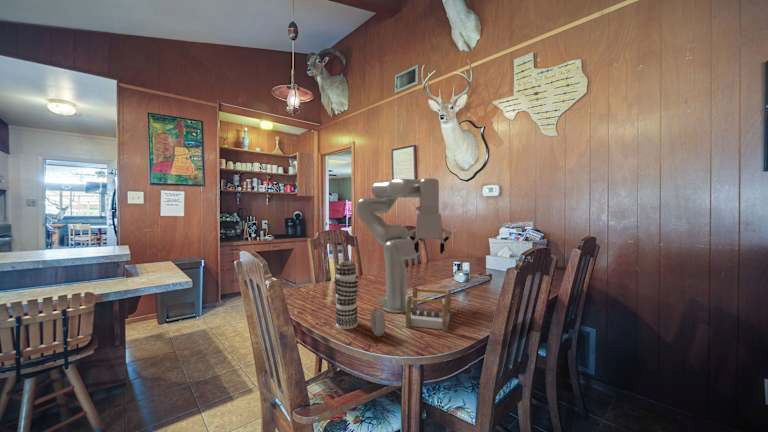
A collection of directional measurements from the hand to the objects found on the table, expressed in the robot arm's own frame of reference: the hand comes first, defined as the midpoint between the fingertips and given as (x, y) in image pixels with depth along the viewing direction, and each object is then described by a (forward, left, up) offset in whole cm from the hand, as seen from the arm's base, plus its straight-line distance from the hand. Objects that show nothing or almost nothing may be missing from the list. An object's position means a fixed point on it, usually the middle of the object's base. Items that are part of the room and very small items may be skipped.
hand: (429, 252), depth 122 cm
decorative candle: (-31, -11, -28) cm, 44 cm away
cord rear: (0, +6, -18) cm, 19 cm away
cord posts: (0, 0, -28) cm, 28 cm away
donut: (-16, -17, -28) cm, 37 cm away
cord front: (0, -7, -18) cm, 19 cm away
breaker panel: (0, 0, -28) cm, 28 cm away
